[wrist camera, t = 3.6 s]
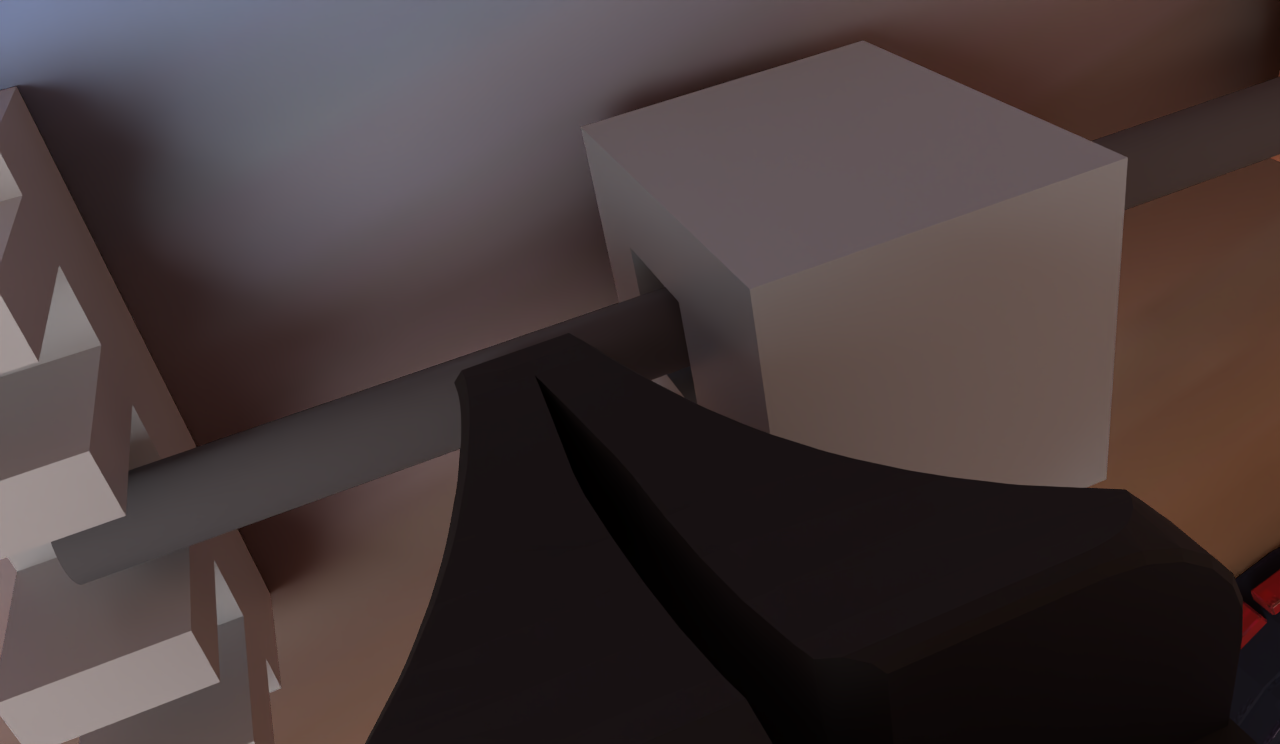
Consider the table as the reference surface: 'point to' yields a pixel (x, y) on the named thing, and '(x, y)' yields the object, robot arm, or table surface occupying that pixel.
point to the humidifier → (1259, 653)
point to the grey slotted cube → (878, 264)
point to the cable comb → (103, 503)
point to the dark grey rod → (627, 331)
